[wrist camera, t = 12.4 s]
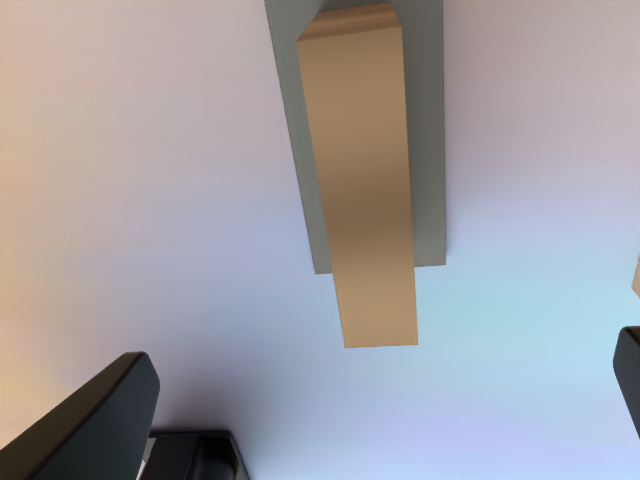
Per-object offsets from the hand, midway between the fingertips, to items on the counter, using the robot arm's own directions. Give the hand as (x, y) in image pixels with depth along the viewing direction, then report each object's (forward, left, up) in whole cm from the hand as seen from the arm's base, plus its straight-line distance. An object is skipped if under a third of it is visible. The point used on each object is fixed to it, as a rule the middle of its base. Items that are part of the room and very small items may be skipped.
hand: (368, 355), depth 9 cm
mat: (0, 0, -12) cm, 12 cm away
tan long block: (0, 0, -11) cm, 11 cm away
